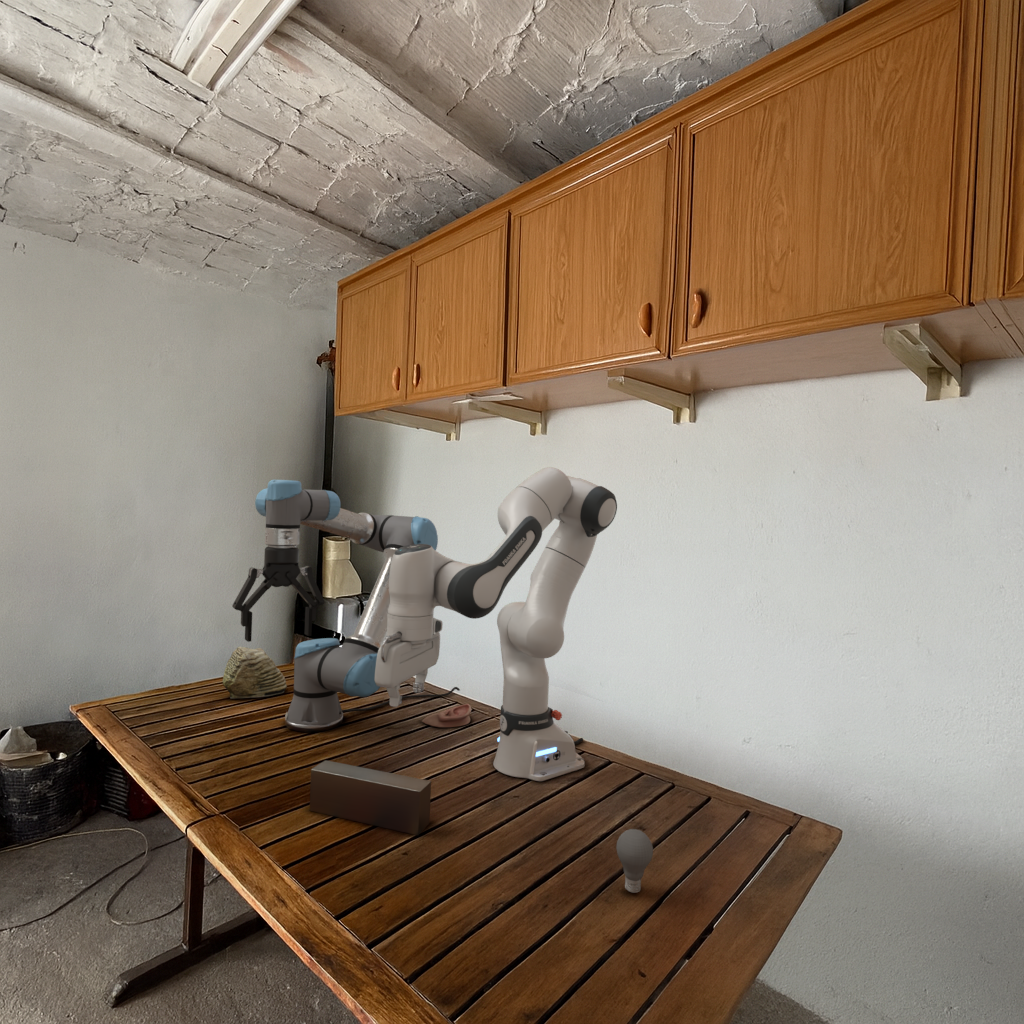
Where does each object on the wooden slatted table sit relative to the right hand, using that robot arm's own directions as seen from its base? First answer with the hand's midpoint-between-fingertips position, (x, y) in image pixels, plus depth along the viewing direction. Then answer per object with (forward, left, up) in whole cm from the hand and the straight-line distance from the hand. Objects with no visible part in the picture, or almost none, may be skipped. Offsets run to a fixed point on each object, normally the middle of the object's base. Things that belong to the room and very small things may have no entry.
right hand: (407, 698), depth 123 cm
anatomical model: (-29, -50, -25) cm, 63 cm away
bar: (+5, -5, -25) cm, 26 cm away
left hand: (+19, -37, +5) cm, 42 cm away
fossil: (+19, -93, -25) cm, 98 cm away
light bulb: (-29, +35, -25) cm, 52 cm away
